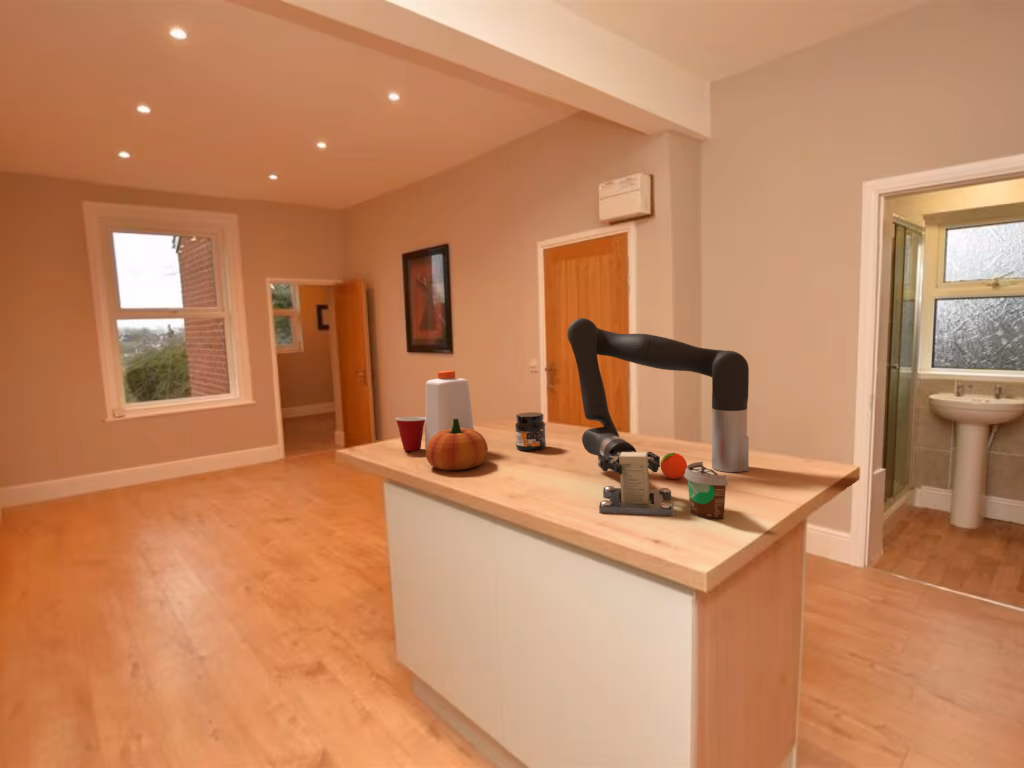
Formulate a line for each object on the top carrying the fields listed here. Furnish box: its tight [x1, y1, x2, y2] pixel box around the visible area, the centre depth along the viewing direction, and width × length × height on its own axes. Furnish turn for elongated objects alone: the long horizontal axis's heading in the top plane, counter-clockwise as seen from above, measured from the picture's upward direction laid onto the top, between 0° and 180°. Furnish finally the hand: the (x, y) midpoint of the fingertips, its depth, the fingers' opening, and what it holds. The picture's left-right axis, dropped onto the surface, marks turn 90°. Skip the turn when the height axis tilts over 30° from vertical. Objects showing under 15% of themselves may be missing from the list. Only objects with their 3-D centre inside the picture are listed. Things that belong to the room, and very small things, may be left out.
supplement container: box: [514, 411, 547, 452], centre depth 186 cm, size 10×10×12 cm
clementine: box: [660, 452, 688, 480], centre depth 144 cm, size 8×7×7 cm
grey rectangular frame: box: [598, 485, 674, 517], centre depth 125 cm, size 16×14×2 cm
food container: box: [683, 461, 728, 521], centre depth 118 cm, size 12×6×10 cm, turn 5°
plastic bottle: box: [424, 370, 475, 450], centre depth 187 cm, size 15×15×28 cm
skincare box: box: [619, 451, 651, 504], centre depth 125 cm, size 6×4×12 cm
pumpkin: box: [425, 419, 489, 471], centre depth 166 cm, size 19×19×15 cm
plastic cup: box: [394, 416, 425, 452], centre depth 191 cm, size 11×11×12 cm
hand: (638, 469), depth 123 cm, fingers open, 8 cm apart
